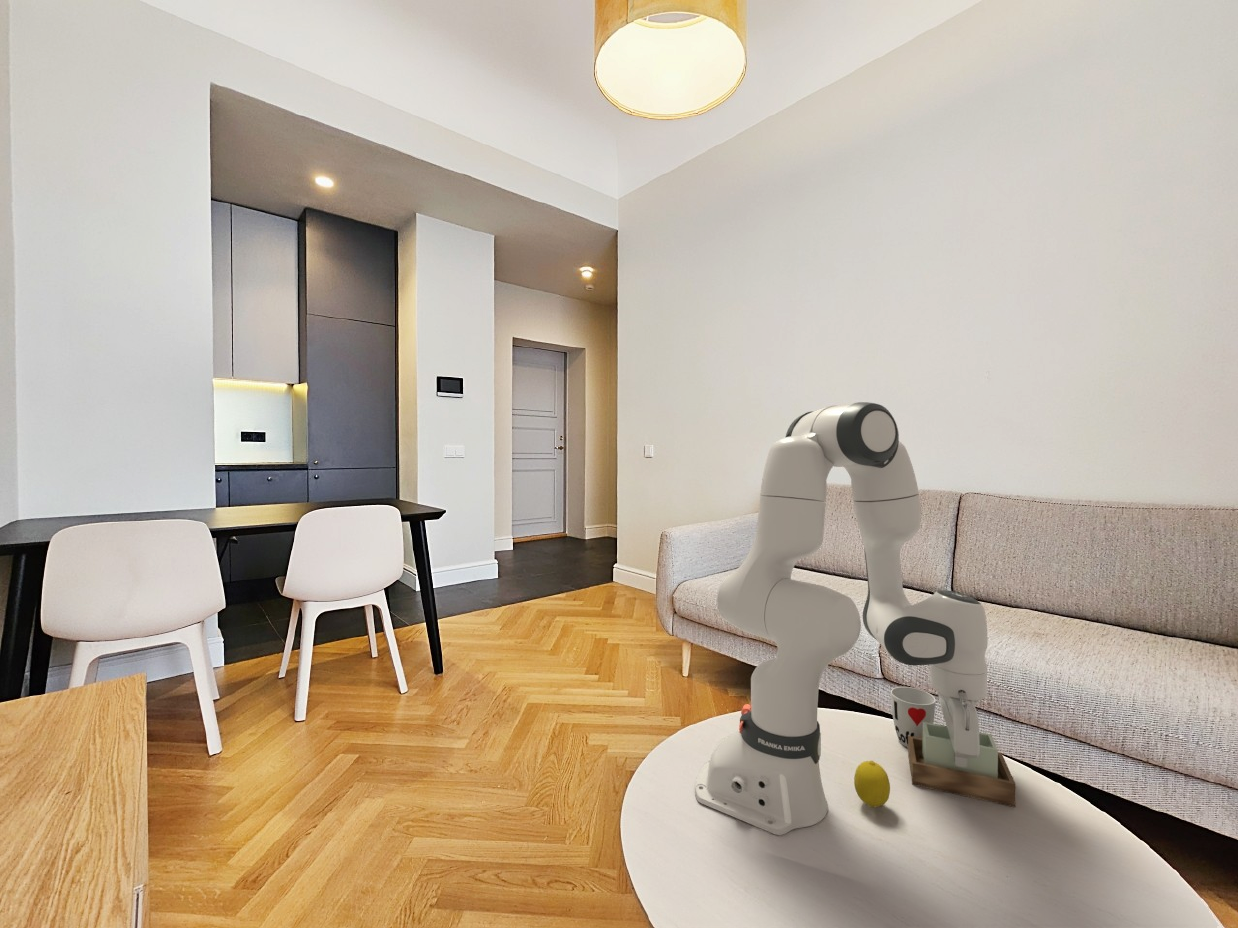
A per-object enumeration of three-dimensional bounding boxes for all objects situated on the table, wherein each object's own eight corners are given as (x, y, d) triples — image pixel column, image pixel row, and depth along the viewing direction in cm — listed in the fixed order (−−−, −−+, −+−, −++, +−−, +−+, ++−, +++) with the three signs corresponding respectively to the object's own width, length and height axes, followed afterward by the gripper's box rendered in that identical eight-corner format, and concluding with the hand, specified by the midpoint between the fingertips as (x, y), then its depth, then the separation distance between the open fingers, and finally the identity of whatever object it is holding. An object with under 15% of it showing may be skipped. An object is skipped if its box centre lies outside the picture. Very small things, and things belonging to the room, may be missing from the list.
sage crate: (925, 767, 98) (925, 736, 98) (922, 751, 103) (922, 721, 103) (997, 783, 93) (998, 750, 93) (990, 765, 98) (991, 734, 98)
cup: (884, 742, 111) (884, 695, 110) (899, 728, 116) (899, 682, 116) (927, 758, 105) (927, 708, 104) (940, 743, 110) (941, 695, 110)
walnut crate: (912, 784, 97) (912, 762, 97) (908, 755, 106) (908, 735, 106) (1015, 807, 91) (1015, 784, 90) (1001, 774, 100) (1001, 753, 99)
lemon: (853, 812, 90) (853, 766, 90) (854, 793, 95) (854, 749, 95) (890, 821, 87) (890, 774, 87) (889, 801, 92) (889, 756, 92)
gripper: (991, 709, 87) (990, 792, 87) (968, 662, 106) (967, 731, 106) (946, 702, 90) (945, 782, 90) (931, 657, 108) (931, 724, 109)
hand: (957, 754), depth 98 cm, fingers closed on sage crate, 5 cm apart
